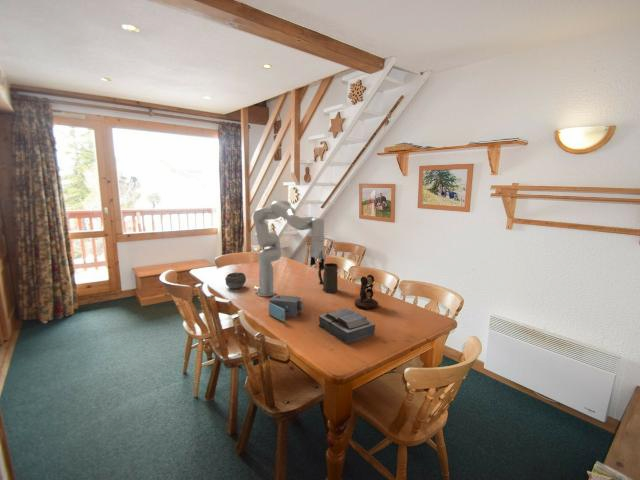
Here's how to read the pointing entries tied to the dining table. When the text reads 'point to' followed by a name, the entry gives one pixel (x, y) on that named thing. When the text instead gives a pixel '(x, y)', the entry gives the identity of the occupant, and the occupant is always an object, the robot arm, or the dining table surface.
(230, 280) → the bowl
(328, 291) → the beer stein
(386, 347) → the dining table surface
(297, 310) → the camera body
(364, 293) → the brown figurine
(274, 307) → the side door
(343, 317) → the grey stacked slabs
